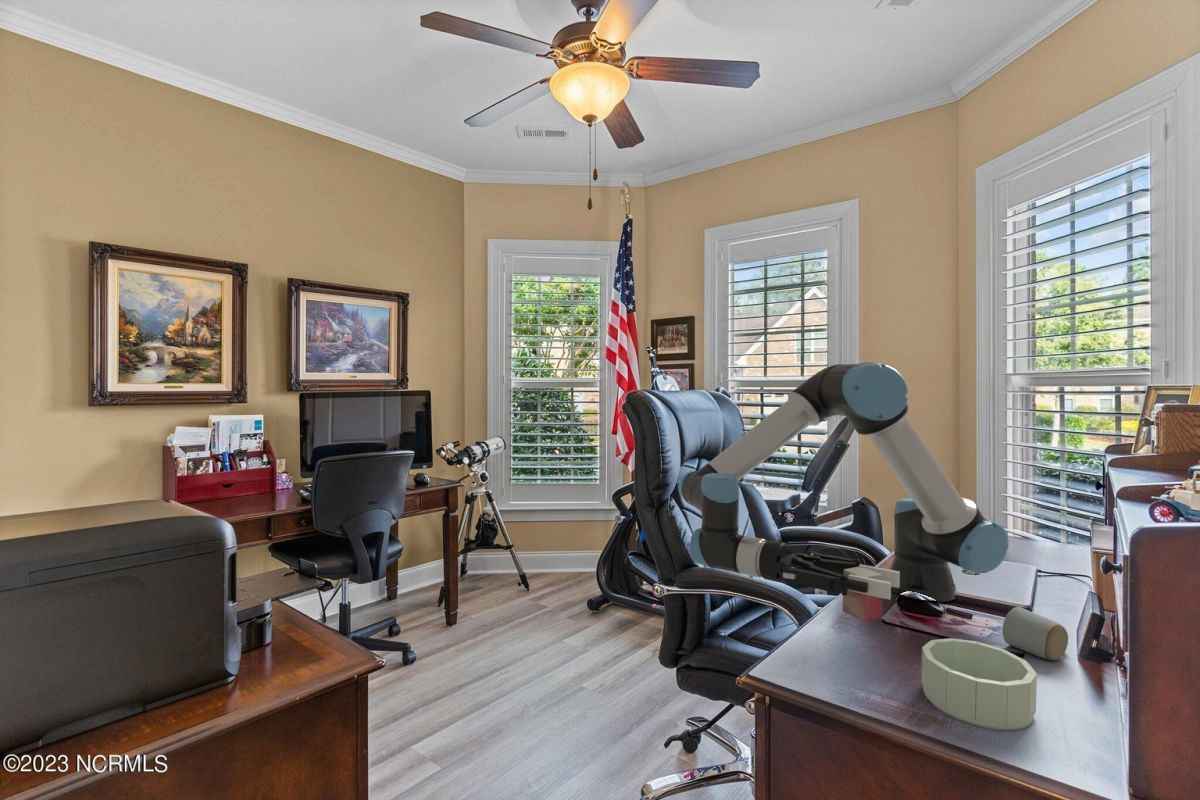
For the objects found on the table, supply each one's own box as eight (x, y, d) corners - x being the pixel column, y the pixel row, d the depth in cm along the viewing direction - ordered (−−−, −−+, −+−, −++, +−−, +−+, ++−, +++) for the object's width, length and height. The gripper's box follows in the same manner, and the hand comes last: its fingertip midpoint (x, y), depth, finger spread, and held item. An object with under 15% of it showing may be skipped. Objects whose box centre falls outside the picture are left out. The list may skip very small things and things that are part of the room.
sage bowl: (902, 682, 98) (903, 643, 98) (976, 673, 101) (977, 635, 101) (975, 736, 84) (976, 689, 83) (1059, 724, 86) (1060, 679, 86)
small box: (841, 611, 102) (842, 568, 102) (859, 608, 103) (860, 565, 103) (864, 623, 97) (864, 577, 97) (883, 618, 99) (883, 574, 98)
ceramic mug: (1048, 667, 103) (1050, 625, 103) (1000, 648, 111) (1002, 609, 111) (1079, 655, 108) (1081, 616, 108) (1031, 638, 115) (1033, 600, 115)
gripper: (783, 565, 119) (906, 590, 104) (744, 592, 104) (881, 625, 90) (783, 529, 119) (906, 550, 104) (744, 552, 104) (881, 579, 89)
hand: (894, 585), depth 97 cm, fingers closed on small box, 6 cm apart
